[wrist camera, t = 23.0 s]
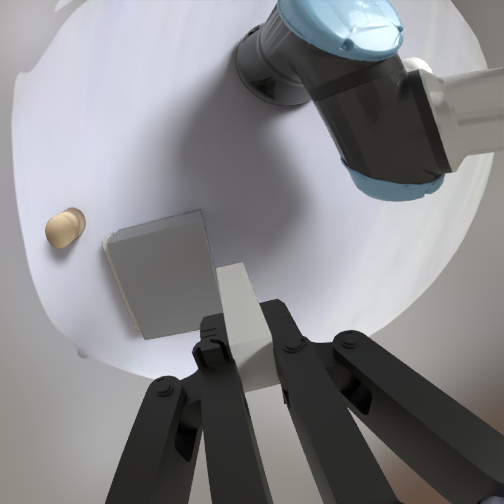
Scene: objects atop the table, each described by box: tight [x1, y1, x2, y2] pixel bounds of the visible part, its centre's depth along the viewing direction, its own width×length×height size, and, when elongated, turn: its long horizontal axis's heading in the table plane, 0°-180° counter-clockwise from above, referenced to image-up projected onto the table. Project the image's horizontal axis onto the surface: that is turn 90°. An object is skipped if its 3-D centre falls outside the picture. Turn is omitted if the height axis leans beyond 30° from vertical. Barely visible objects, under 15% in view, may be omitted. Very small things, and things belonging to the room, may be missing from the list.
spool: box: [45, 208, 86, 249], centre depth 37 cm, size 5×5×6 cm
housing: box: [106, 209, 223, 340], centre depth 42 cm, size 14×17×7 cm
